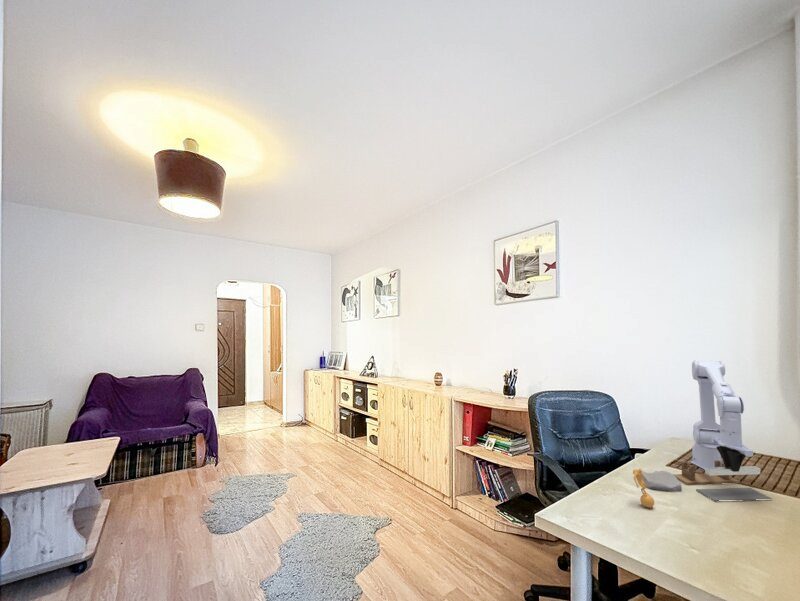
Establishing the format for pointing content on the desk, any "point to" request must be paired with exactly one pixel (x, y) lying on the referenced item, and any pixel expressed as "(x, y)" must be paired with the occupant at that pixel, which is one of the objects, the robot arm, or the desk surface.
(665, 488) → the stone block
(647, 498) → the figurine
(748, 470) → the rail
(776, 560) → the desk surface
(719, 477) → the wooden two-post cradle
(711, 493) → the mat
